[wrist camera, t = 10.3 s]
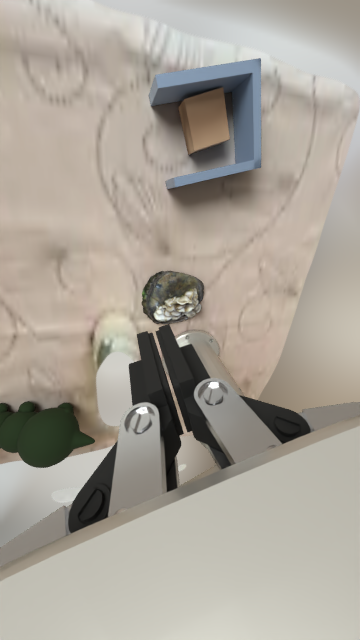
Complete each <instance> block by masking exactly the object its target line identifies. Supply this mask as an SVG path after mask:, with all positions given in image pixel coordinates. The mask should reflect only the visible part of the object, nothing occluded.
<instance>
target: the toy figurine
mask: <svg viewBox="0 0 360 640" xmlns="http://www.w3.org/2000/svg"><path fill="white" fill-rule="evenodd" d="M7 410H8V407H7V404H5V403H0V448H2V449H3V450H5V451H7V452H11V453H17V452H18V453H19V455H20V457H21V458H22V460H23V461H24V462H25V463H27V464H28V465H30V466H33V467H39V468H44V467H45V468H46V467H50V466H52V465H55V464H57V463H59V462H61V461H62V460H64V459H65V458H66V457H67V456H68V455H69V454H70V453H71V452H72V451H73V449H76V448H79V447H83V446H86V445H90V444H93V443H94V442H95V440H94V439H93V438H91V437H89V436H88V435H86V434H84V433H82V432H81V431H80V429H79V424H78V421H77V419H76V417H75V416H74V412H73V407H72V405H71V404H70V403H63V404H61V405H59V407H58V408H49V409H45V410H42V411H40V412H38V413H36V412H34V411H35V404H34V403H32V402H29V401H28V402H24V403H23V404H21V405H20V407H19V410H18V412H16V413H12V412H8V411H7Z"/></svg>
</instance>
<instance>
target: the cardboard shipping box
mask: <svg viewBox="0 0 360 640" xmlns="http://www.w3.org/2000/svg"><path fill="white" fill-rule="evenodd" d="M178 109H179V113H180V118H181V123H182V127H183V132H184V137H185V141H186V146H187V151H188V155H189V154H192V153H195V152H198V151H201V150H204V149H207V148H210V147H213V146H216V145H219V144H222V143H224V142H225V141H227V140H229V139H230V137H229V130H228V122H227V114H226V106H225V98H224V90H223V87H222V88H219V89H215V90H212V91H209V92H206V93H203V94H199V95H196V96H193V97H190V98H187V99H184V100H183V102H182V103H181V105H180V106H179V107H178Z"/></svg>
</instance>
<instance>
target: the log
mask: <svg viewBox="0 0 360 640" xmlns="http://www.w3.org/2000/svg"><path fill="white" fill-rule="evenodd" d="M203 290H204V285H203V283H202V282H201V281H200V280H199V279H197V278H196V277H194V276H191V275H188V274H184V273H179V272H173V271H165V272H164V271H161V272H159V273H156V274H155V275H153V276H151V277H150V279H149V281H148V282H147V284H146V285H145V287H144V289H143V293H142V296H143V301H142V306H143V312H144V313H145V314H147V315H148V317H149V318H150V319H151V320H153V322H154V323H157V324H159V323H162V324H170V323H175V322H181V321H183V320H187V319H188V317H191V318H192V317H193V316H195V315H196V313H197V312H199V311H200V310H201V305H200V301H201V300H202V299H203V293H204V292H203Z"/></svg>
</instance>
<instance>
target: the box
mask: <svg viewBox="0 0 360 640" xmlns="http://www.w3.org/2000/svg"><path fill="white" fill-rule="evenodd" d="M222 87H223V90H224V93H228V92H232V103H233V123H234V142H235V161H236V164H233V165H229V166H224V167H220V168H215V169H211V170H206V171H202V172H198V173H193V174H189V175H184V176H180V177H175V178H172V179H170V180H167V181H166V186H167V189H170V188H174V187H178V186H183V185H187V184H191V183H196V182H200V181H204V180H209V179H213V178H217V177H222V176H226V175H230V174H235V173H239V172H243V171H248V170H252V169H256V168H261V58H259V59H253V60H247V61H240V62H234V63H228V64H221V65H215V66H209V67H202V68H196V69H190V70H183V71H177V72H171V73H164V74H158V75H155V78H154V81H153V84H152V87H151V90H150V93H149V99H150V104H151V106H155V105H160V104H166V103H172V102H177V101H183V100H184V99H187V98H190V97H193V96H196V95H199V94H203V93H206V92H209V91H212V90H215V89H219V88H222Z"/></svg>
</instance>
